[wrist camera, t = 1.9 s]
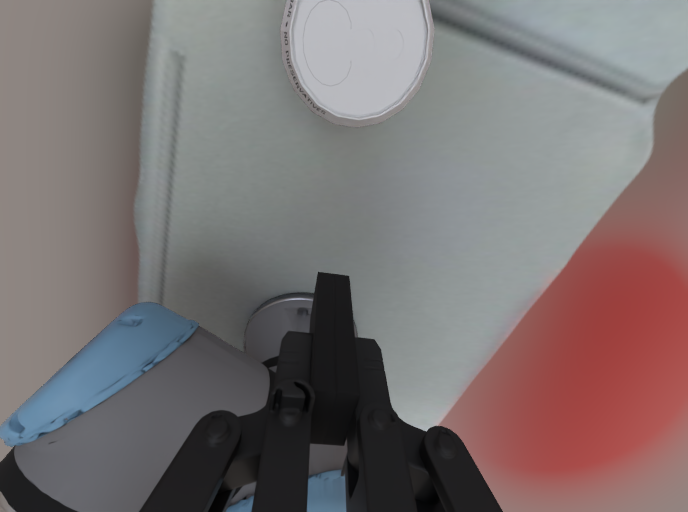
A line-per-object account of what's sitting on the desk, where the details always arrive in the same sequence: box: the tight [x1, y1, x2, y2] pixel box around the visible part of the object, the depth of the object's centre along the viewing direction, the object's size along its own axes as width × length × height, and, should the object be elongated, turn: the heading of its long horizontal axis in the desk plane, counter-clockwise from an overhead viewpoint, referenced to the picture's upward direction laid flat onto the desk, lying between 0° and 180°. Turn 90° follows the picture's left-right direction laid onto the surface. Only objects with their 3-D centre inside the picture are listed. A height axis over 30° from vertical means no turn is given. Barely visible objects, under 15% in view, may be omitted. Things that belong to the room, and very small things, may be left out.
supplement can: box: [280, 0, 434, 128], centre depth 23 cm, size 8×8×15 cm
